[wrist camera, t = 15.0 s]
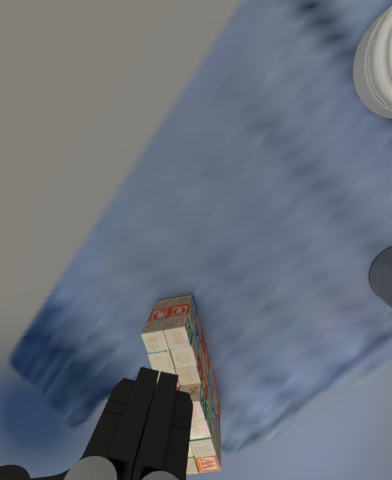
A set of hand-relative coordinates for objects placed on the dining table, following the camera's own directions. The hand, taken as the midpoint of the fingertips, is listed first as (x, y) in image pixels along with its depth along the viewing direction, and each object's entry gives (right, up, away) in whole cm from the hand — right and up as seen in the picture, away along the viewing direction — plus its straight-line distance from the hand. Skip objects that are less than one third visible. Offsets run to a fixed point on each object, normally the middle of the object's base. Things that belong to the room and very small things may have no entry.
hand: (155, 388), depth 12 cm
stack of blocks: (0, -13, +39) cm, 41 cm away
